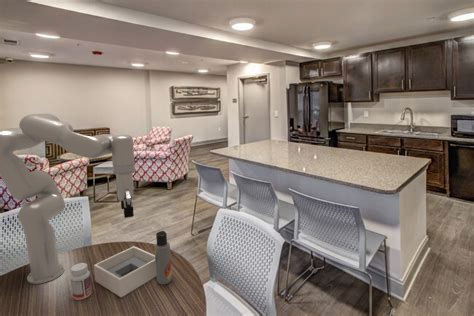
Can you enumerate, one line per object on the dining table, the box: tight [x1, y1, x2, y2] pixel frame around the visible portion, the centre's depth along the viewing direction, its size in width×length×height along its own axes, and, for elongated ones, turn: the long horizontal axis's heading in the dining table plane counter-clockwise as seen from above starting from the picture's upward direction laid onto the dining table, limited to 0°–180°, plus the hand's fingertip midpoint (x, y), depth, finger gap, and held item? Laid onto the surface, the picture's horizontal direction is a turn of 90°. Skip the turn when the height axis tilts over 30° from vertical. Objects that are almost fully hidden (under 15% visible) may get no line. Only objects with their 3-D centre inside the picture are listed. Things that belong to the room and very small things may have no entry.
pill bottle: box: [70, 262, 93, 301], centre depth 103 cm, size 6×6×11 cm
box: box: [93, 245, 157, 298], centre depth 114 cm, size 17×18×7 cm
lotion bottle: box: [153, 230, 173, 285], centre depth 110 cm, size 6×6×20 cm
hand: (127, 212), depth 109 cm, fingers open, 9 cm apart
